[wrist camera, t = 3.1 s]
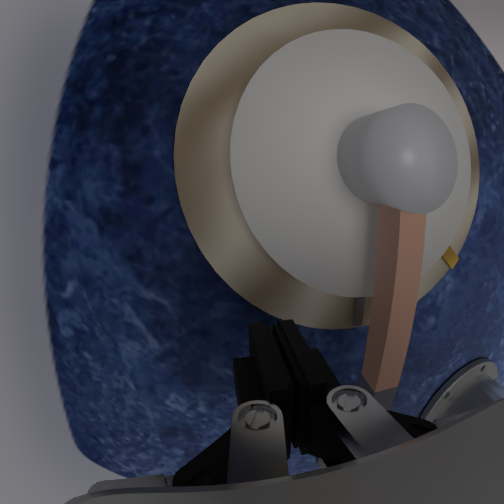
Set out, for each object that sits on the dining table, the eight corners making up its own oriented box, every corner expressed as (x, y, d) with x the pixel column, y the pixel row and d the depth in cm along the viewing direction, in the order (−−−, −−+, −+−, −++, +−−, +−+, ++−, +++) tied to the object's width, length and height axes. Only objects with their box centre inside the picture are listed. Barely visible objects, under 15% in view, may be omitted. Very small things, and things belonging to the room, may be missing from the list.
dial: (225, 29, 14) (231, -23, 9) (447, 66, 15) (498, 50, 10) (241, 385, 19) (250, 444, 14) (433, 349, 21) (472, 383, 16)
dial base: (495, 161, 20) (510, 162, 18) (356, 365, 22) (366, 378, 20) (315, -31, 14) (323, -44, 12) (108, 193, 17) (97, 195, 15)
